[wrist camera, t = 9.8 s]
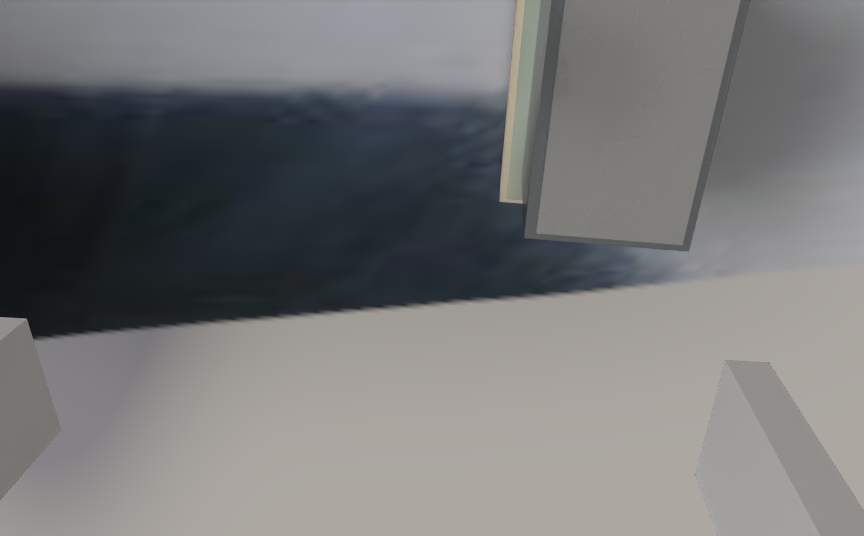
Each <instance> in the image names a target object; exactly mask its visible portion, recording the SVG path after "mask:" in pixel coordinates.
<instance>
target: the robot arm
mask: <svg viewBox="0 0 864 536" xmlns="http://www.w3.org/2000/svg"><path fill="white" fill-rule="evenodd" d="M60 431H61V428H60V424H59V421H58V418H57V415H56V412H55V408H54V405H53V402H52V399H51V396H50V392H49V389H48V386H47V383H46V379H45V376H44V373H43V370H42V367H41V363H40V360H39V357H38V354H37V350H36V347H35V344H34V341H33V337H32V334H31V331H30V328H29V325H28V321H27V319H22V318H5V317H0V500H1V499H2V498H3V497H4V495H5V494H6V493H7V492H8V491H9V490H10V489H11V487H12V486H13V485H14V484H15V483H16V481H17V480H18V479H19V478H20V477H21V476H22V475H23V474H24V472H25V471H26V470H27V469H28V468H29V467H30V465H31V464H32V463H33V462H34V461H35V460H36V458H37V457H38V456H39V455H40V454H41V453H42V451H43V450H44V449H45V448H46V447H47V446H48V444H50V442H51V441H52V440H53V439H54V438H55V437H56V435H57V434H58V433H59V432H60ZM695 476H696V479H697V482H698V484H699V487H700V490H701V492H702V495H703V498H704V500H705V503H706V506H707V509H708V511H709V514H710V517H711V519H712V522H713V525H714V527H715V530H716V533H717V536H864V510H863V508H862V507H861V505H860V504H859V502H858V501H857V499H856V498H855V496H854V494H853V493H852V491H851V490H850V488H849V487H848V485H847V483H846V482H845V480H844V479H843V477H842V476H841V474H840V473H839V471H838V469H837V468H836V466H835V465H834V463H833V462H832V460H831V459H830V457H829V455H828V454H827V452H826V451H825V449H824V448H823V446H822V444H821V443H820V441H819V440H818V438H817V437H816V435H815V433H814V432H813V430H812V429H811V427H810V426H809V424H808V423H807V421H806V420H805V418H804V416H803V415H802V413H801V412H800V410H799V408H798V407H797V405H796V404H795V402H794V401H793V399H792V398H791V396H790V394H789V393H788V391H787V390H786V388H785V387H784V385H783V383H782V382H781V380H780V379H779V377H778V376H777V374H776V372H775V371H774V369H773V368H772V366H771V365H770V363H767V362H766V363H765V362H750V361H732V360H725V363H724V367H723V370H722V374H721V378H720V382H719V386H718V389H717V393H716V397H715V401H714V405H713V408H712V412H711V416H710V420H709V424H708V427H707V431H706V435H705V439H704V442H703V446H702V450H701V454H700V458H699V461H698V465H697V469H696V473H695Z"/></svg>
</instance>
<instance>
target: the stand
mask: <svg viewBox="0 0 864 536" xmlns="http://www.w3.org/2000/svg"><path fill="white" fill-rule="evenodd" d="M540 2H541V0H516V10H515V21H514V33H513V44H512V56H511V67H510V78H509V90H508V101H507V113H506V124H505V136H504V147H503V159H502V170H501V183H500V202H510V203H523V201H522V178H521V177H522V167H523V158H524V149H525V140H526V131H527V121H528V112H529V103H530V94H531V84H532V75H533V66H534V57H535V48H536V38H537V29H538V20H539V11H540Z"/></svg>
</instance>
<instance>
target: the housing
mask: <svg viewBox="0 0 864 536" xmlns="http://www.w3.org/2000/svg"><path fill="white" fill-rule="evenodd" d="M749 2H750V0H541V2H540V11H539V20H538V29H537V38H536V48H535V57H534V66H533V75H532V84H531V94H530V103H529V112H528V121H527V131H526V140H525V149H524V158H523V167H522V177H521V178H522V201H523V225H524V238H530V239H542V240H554V241H566V242H579V243H591V244H603V245H615V246H628V247H640V248H652V249H664V250H677V251H689V249H690V245H691V241H692V236H693V232H694V228H695V224H696V220H697V216H698V212H699V208H700V203H701V199H702V195H703V191H704V187H705V183H706V179H707V175H708V171H709V166H710V162H711V158H712V154H713V150H714V146H715V142H716V138H717V133H718V129H719V125H720V121H721V117H722V113H723V109H724V105H725V101H726V96H727V92H728V88H729V84H730V80H731V76H732V72H733V68H734V63H735V59H736V55H737V51H738V47H739V43H740V39H741V35H742V31H743V26H744V22H745V18H746V14H747V10H748V6H749Z"/></svg>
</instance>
